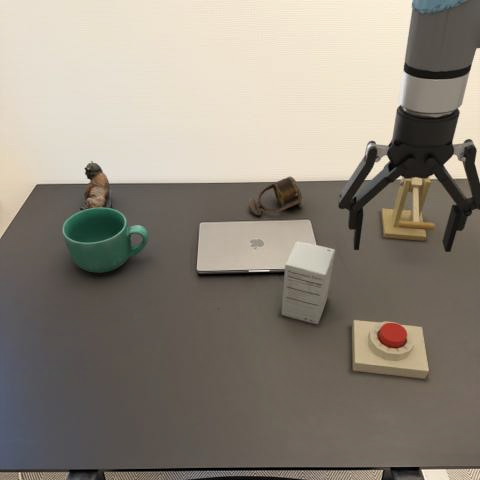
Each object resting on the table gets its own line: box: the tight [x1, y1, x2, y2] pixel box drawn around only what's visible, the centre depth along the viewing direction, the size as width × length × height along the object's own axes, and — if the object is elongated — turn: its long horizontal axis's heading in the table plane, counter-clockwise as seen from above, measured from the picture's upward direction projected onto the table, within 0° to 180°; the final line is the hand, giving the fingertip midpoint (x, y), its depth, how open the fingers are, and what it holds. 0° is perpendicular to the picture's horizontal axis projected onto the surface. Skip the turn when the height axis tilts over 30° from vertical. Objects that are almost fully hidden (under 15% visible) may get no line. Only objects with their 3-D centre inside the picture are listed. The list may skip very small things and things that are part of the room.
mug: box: [61, 207, 149, 274], centre depth 97 cm, size 17×13×10 cm
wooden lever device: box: [380, 176, 432, 242], centre depth 104 cm, size 10×9×13 cm
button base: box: [351, 319, 430, 380], centre depth 81 cm, size 12×10×4 cm
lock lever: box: [398, 177, 436, 231], centre depth 98 cm, size 13×7×2 cm, turn 171°
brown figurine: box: [78, 160, 113, 212], centre depth 110 cm, size 12×7×10 cm, turn 5°
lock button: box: [378, 322, 407, 348], centre depth 79 cm, size 4×4×2 cm
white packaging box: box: [281, 240, 336, 325], centre depth 86 cm, size 7×7×13 cm
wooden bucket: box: [248, 175, 303, 216], centre depth 111 cm, size 7×13×10 cm
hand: (400, 246), depth 73 cm, fingers open, 13 cm apart
